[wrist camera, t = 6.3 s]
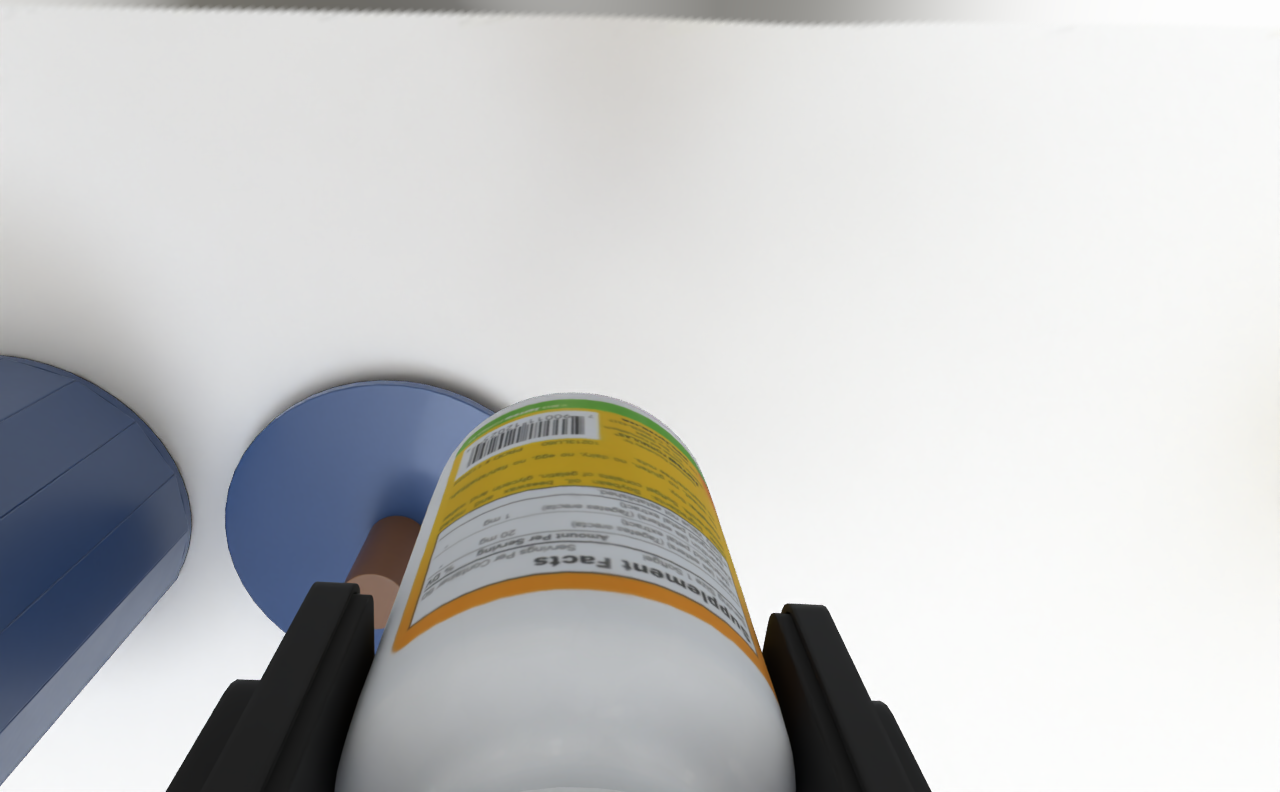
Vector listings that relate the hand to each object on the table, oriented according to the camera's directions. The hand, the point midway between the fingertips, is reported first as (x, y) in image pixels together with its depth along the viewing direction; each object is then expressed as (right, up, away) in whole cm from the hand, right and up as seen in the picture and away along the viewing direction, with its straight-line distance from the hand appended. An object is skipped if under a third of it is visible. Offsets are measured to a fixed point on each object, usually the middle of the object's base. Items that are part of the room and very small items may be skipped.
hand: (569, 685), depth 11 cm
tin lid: (-10, -2, +24) cm, 26 cm away
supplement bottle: (0, +2, +5) cm, 5 cm away
